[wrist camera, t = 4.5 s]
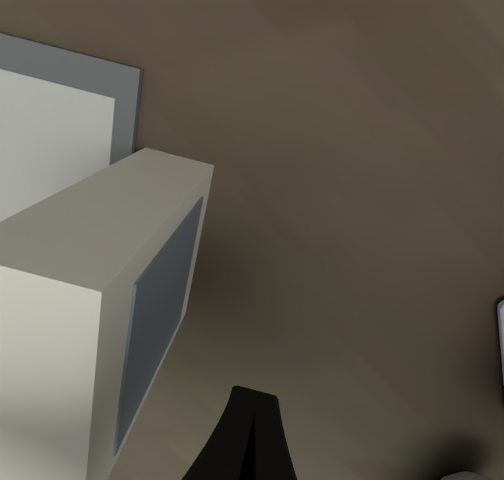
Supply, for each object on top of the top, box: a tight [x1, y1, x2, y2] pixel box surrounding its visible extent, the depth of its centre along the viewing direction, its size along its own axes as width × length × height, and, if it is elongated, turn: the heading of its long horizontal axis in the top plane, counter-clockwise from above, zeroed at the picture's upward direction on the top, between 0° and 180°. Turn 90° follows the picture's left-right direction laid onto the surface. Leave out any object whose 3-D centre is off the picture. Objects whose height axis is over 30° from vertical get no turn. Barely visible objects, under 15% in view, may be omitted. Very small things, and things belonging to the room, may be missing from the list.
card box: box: [0, 147, 214, 480], centre depth 16 cm, size 4×9×12 cm, turn 167°
